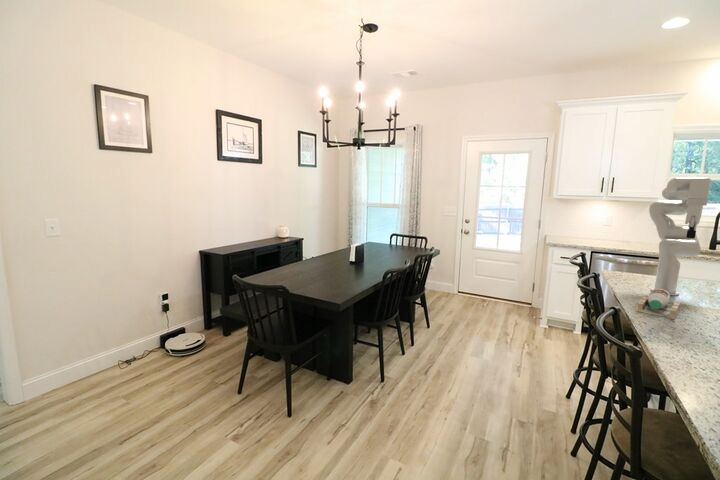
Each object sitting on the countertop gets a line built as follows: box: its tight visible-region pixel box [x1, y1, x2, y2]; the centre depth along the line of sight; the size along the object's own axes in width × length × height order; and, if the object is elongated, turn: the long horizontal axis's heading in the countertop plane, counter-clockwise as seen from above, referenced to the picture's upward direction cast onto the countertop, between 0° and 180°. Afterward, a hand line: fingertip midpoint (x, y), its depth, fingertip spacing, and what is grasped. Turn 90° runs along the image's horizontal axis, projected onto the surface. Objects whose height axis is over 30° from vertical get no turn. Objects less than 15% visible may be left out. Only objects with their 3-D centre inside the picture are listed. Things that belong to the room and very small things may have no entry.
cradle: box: [636, 294, 682, 320], centre depth 172 cm, size 20×14×4 cm
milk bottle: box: [648, 289, 671, 309], centre depth 173 cm, size 8×8×20 cm
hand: (690, 237), depth 178 cm, fingers closed
